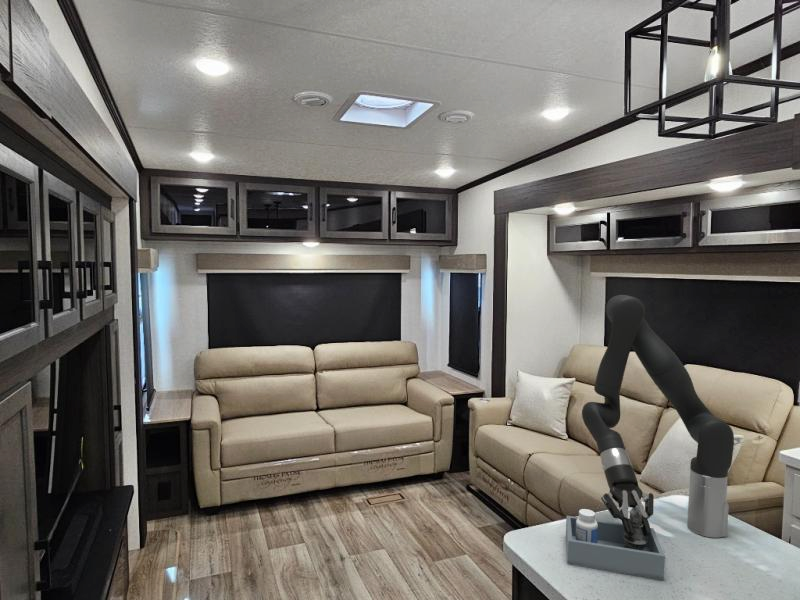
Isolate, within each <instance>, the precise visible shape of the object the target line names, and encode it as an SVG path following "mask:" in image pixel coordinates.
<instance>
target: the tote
mask: <svg viewBox="0 0 800 600" xmlns="http://www.w3.org/2000/svg"><path fill="white" fill-rule="evenodd" d="M578 518H579V516H571V515H566V522H565V523H566V524H565V547H566V561H567V562H566V563H567V565H572V566H577V567H584V568H589V569H596V570H599V571H600V570H601V571H607V572H613V573H618V574H624V575H629V576H630V575H631V576H634V577H635V576H636V577H642V578H648V579H653V580H659V581H664V580H665V568H666V567H665V563H666V555H665V553H664V549H663V548H662V546H661V543H660V541H659V539H658V536H657V533H656V531H655V528H652V527H650V528H651V532H650V534H649V535H648V536H644V534H643V531H641V532H642V536H644V537H645V538H646V539H647V543H646V546H645V547H644V549H642V550H644V551H641V550H635V549H629V548H623V547H624V546H626V544H625V543H624V540H623V537H622V535H623V533H626V532H625V530H624V527H623V523H620V522H612V521H606V520H598V519H595V521H596V522H597V523H598V543H591V542H585V541H579V540H576V520H577V519H578Z"/></svg>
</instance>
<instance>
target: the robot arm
mask: <svg viewBox="0 0 800 600" xmlns="http://www.w3.org/2000/svg"><path fill="white" fill-rule="evenodd" d="M605 308H606V309H605V313H606V316H607V318H608V319H609V321H610V322H611V330H610V331H611V333H610V338H609V341H608V344H607V347H606V349H605V352H604V354H603V356H602V358H601V360H600V364H599V367H598V370H597V373H596V378H595V381H594V382H595V383H594V389H593V390H594V392H595V393H596V394H597V395H598V396H599V395H600V396H601V397H603V398H604V402H597V401H589V402H586V403H585V404H584V405H583V407H582V409H581V419H582V421H583V424H584V425H585V428H587V430H588V431H589V433H590V435H591V437H592V438H593V440H594V441H595V443H596V446H597V450H598V452H599V456H600V462H601V465H602V470H603V473H604V475H605V480H606V482H607V486H608V488H609V493H604V494H603V495H602V496H601V497H600V499H601V501H602V502H603V504H604V506H605V507H606V509H607V510H608V511H609V513H610V515H611V516H612V517H613V519H615V520H616V519H617V520H620V521H621V524H623V527H624V530H625V532H626V534H628V536H632V535H634V530H633V527H632V524H631V521H630V517H629V508H632V509H635V507H636V506H637V509H638V510H640V511H641V512H642V524H643V527H642V531H643V534H644V536H648V535H649V534H650V532H651V528H652V527H651V526H650V522H649V518H651V517H652V516H653V515H654V499H655V498H654V497H655V496H654V494H653V493H651V492H650V493H646V492H643V490H642V489H641V488H640V486H639V481H638V479H637V478H638V477H637V476H636V473H635V470H634V467H633V464H632V461H631V459H630V456H629V454H628V451H627V450H626V446H625V444H624V440H623V437H622V435H621V434H620V432H618V431H616V430H614V429H613V428H615V427H616V426H617V425H618V424H619V422H620V420H621V397H620V396H621V395H620V392H621V388H622V384H623V381H624V375H625V371H626V368H627V364H628V359H629V356H630V353H631V349H632V350H633V351H634V353H635V355H636V356H637V358H638V360H639V361H640V363H641V365H642V366H643V368H644V369H645V371H646V373H647V374H648V375H649V377H650V378H651V380H652V382H654V384H655V385H656V387H657V388H658V390H660V392H661V393H662V395H664V397H665V399H666V400H668V402H669V403H670V404H671V405H672V406H673V407H674V409H675V411H676V412H677V414H678V416H679V417H680V420H681V421H682V423H683V424H684V427H685V428H686V431H687V432H688V434H689V436H690V437H691V439H692V440H693V441H695V442H696V443H697V449H696V456H693V457H692V458H691V460H690V468H689V469H690V470H689V484H688V485H689V487H688V505H687V507H688V508H687V522H686V523H687V524H686V525H687V529H689V530H690V531H692V532H694V533H695V534H698V535H700V536H703V537H708V538H716V539H717V538H727V537H728V524H729V506H730V505H729V503H728V502H727V494H728V475H729V470H730V468H731V467H732V464H733V455H734V454H733V453H734V446H735V444H734V443H735V435H734V431H733V428H732V427H731V426H730V425H729V424H728V423H727V422H726V421H724V420H722V419H720V418H719V417H717V416H716V415H714V414H713V413H712V412H711V410H709V409H708V407H707V406H706V405H705V403H704V402H703V401H702V400H701V399H700V397H699V396H698V394H697V392H696V390H695V386H694V383H693V381H692V378H691V375H690V374H689V372H688V370H687V368H686V367H685V366H684V364H683V362H682V361H681V360H680V359H679V357H678V356H677V355H676V353H675V352H674V351H673V350H672V349H671V348H670V347H669V345H668V344H667V343H665V341H663V339H661V338H660V337H659V336H658V335H657V334H656V333H655V331H654V330H653V329H652V328H651V327H650V325H649V324H648V322H647V321H646V319H645V315H646V310H645V305H644V304H643V302H642V301H641V300H640V299H638V298H637V297H634V296H631V295H627V294H619V295H615V296H612V297H611V298H610V299H609V300H608V301H607V303H606V307H605ZM641 500H642V501H643V502H642V501H641ZM616 503H617V504H616ZM643 503H644V504H643ZM632 509H631V510H632Z"/></svg>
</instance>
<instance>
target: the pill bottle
mask: <svg viewBox="0 0 800 600" xmlns="http://www.w3.org/2000/svg"><path fill="white" fill-rule="evenodd" d="M578 517H579V518H578V519H577V520H576V540H579V541H585V542H591V543H598V523H597V522H596V521H595V520H596V513H595V512H594V510H591V509H587V508H581V509H579V511H578Z"/></svg>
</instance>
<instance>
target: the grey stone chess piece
mask: <svg viewBox="0 0 800 600" xmlns="http://www.w3.org/2000/svg"><path fill="white" fill-rule="evenodd" d="M629 518H630V521H631V524H632V527H633V530H634V535H632V536H628V534H626V533H623V535H622V537H623V540H624V543H625V544H626V546H624V547H623V548H629V549H635V550H641V551H644V550H642V549H644V547H645V546H646V543H647V539H646V538H645V537H644V536H642V532H641V531H642V527H643V524H642V512H641V511H640V510H638V509H637V506H636V507H635V509H630V511H629Z"/></svg>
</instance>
